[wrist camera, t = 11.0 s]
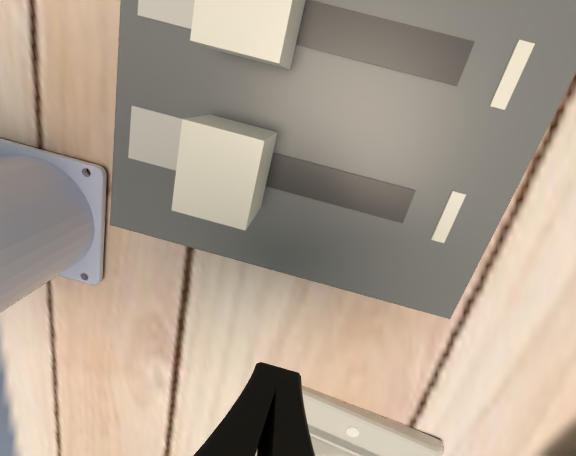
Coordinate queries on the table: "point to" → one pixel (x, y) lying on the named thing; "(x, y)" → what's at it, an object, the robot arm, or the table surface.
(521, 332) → the table surface
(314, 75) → the switch panel
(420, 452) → the light switch
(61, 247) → the robot arm
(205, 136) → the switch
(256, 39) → the middle switch
